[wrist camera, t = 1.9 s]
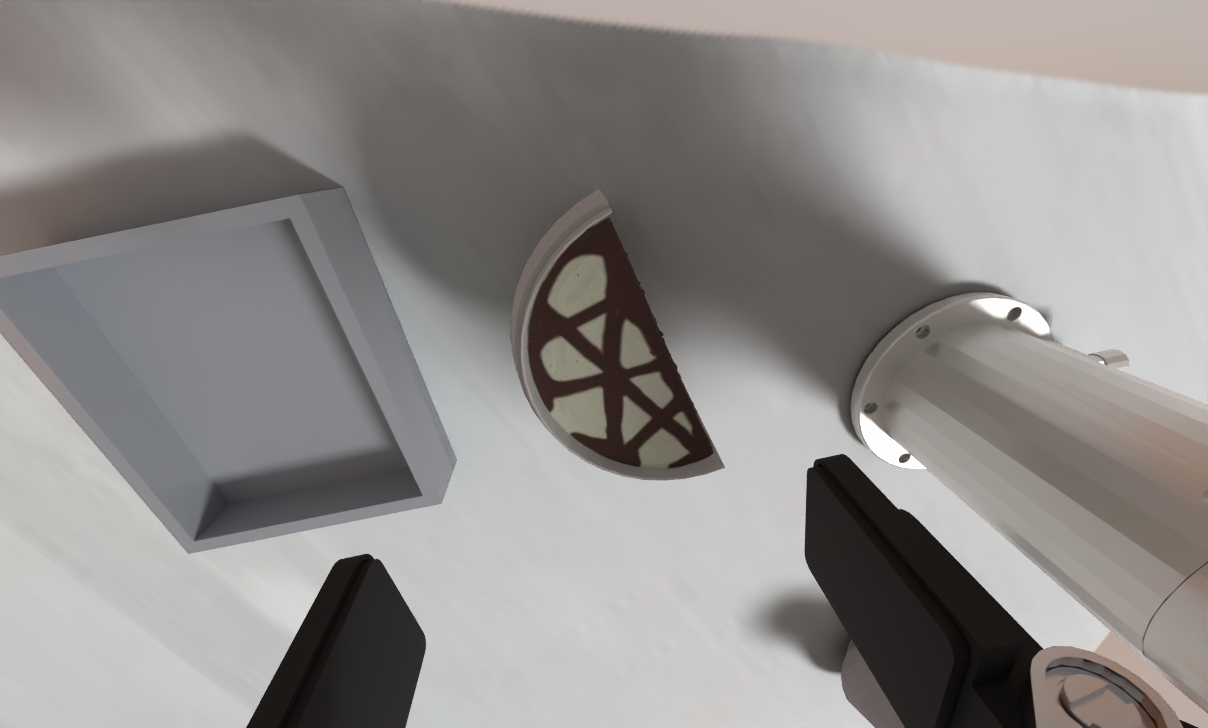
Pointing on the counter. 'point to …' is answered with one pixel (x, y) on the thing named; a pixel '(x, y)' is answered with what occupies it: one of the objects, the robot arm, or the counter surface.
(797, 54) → the counter surface
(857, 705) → the coffee pot
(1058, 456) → the robot arm
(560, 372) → the food container
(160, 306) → the grey bin
